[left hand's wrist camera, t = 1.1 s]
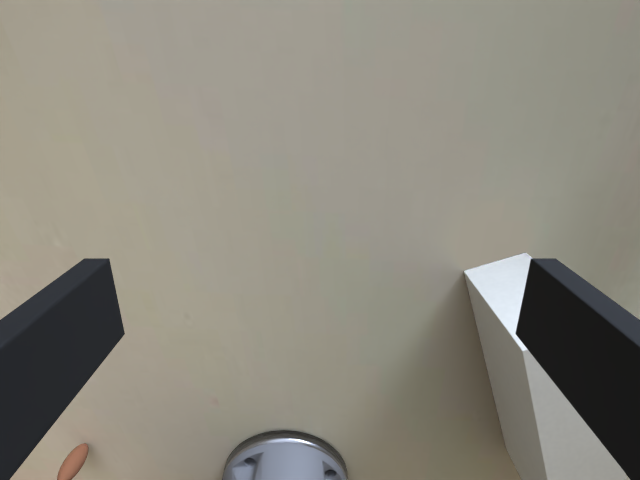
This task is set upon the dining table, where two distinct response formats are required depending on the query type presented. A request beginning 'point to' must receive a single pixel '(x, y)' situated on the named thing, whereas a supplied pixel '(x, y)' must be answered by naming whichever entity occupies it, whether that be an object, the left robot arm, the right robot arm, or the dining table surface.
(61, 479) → the brown disc
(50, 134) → the dining table surface
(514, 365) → the box
